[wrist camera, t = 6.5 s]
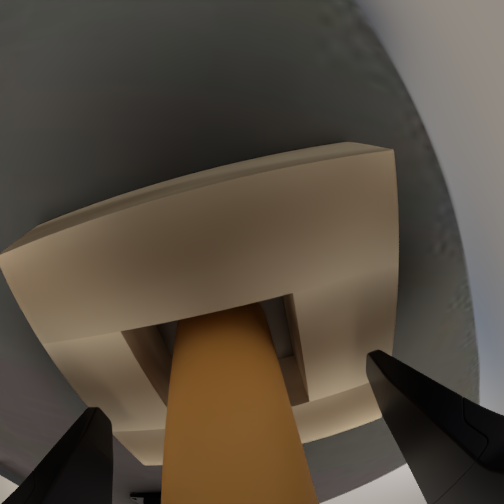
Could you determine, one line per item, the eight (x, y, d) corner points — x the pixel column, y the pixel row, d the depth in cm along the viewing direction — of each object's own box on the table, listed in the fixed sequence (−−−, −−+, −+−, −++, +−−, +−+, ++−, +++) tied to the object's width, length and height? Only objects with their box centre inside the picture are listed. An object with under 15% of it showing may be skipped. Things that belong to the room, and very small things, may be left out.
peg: (273, 348, 13) (329, 550, 4) (193, 365, 13) (196, 567, 4) (256, 277, 11) (330, 533, 3) (164, 299, 11) (127, 547, 3)
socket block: (359, 377, 15) (381, 417, 12) (149, 422, 14) (144, 465, 12) (348, 141, 10) (393, 149, 7) (38, 225, 9) (-5, 256, 7)
